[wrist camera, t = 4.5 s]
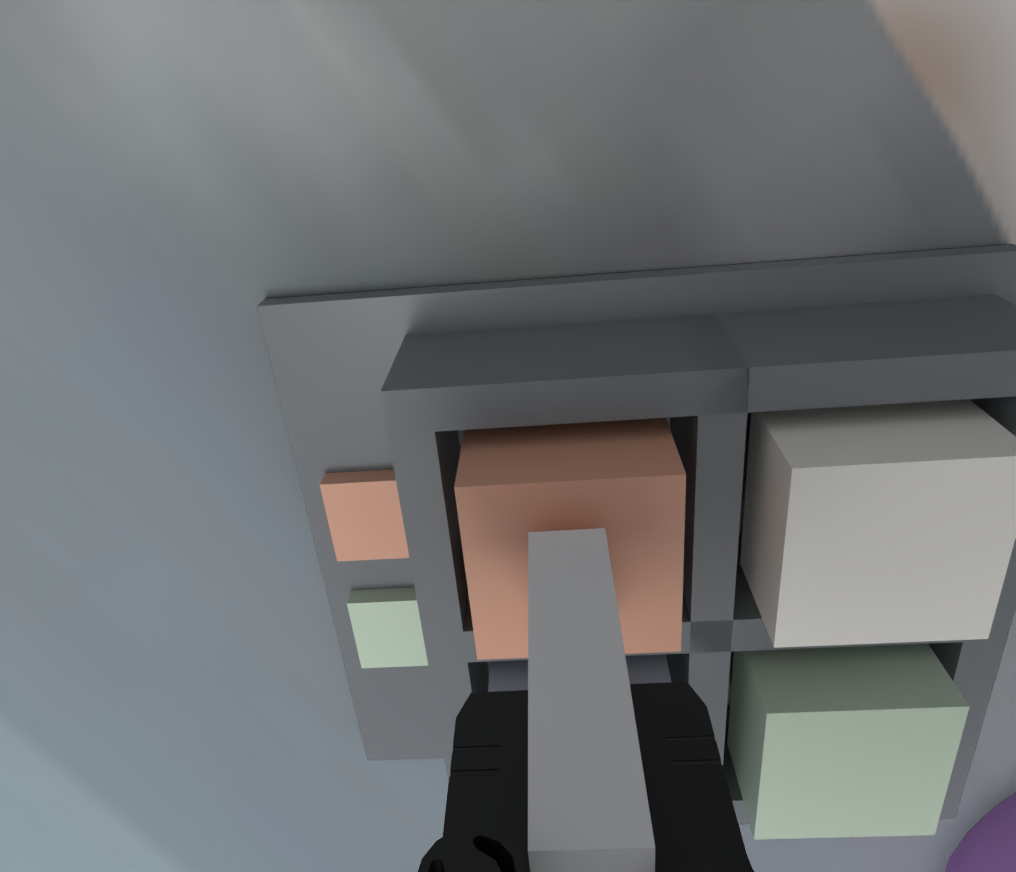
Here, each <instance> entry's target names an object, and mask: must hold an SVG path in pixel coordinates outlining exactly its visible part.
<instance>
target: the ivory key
mask: <svg viewBox="0 0 1016 872" xmlns="http://www.w3.org/2000/svg"><path fill="white" fill-rule="evenodd" d="M1015 538H1016V437H1015V436H1014V435H1013V434H1012V433H1010V432H1009V431H1008V430H1007V429H1006V428H1004V427H1003V426H1002V425H1001V424H999V423H998V422H997V421H996V420H994V419H993V418H992V417H991V416H989V415H988V414H987V413H986V412H984V411H983V410H982V409H981V408H979V407H978V406H977V405H976V404H975V403H973V402H972V401H971V400H970V399H964V400H948V401H931V402H915V403H898V404H882V405H865V406H849V407H832V408H816V409H799V410H783V411H766V412H751V420H750V433H749V447H748V461H747V475H746V489H745V503H744V517H743V531H742V545H741V559H740V565H741V567H742V570H743V572H744V575H745V577H746V580H747V582H748V585H749V587H750V590H751V592H752V595H753V597H754V600H755V602H756V604H757V607H758V609H759V612H760V614H761V617H762V619H763V622H764V624H765V627H766V629H767V632H768V634H769V637H770V639H771V642H772V644H773V647H774V648H779V647H803V646H828V645H852V644H877V643H901V642H925V641H950V640H974V639H988V637H989V634H990V630H991V626H992V623H993V619H994V615H995V612H996V608H997V604H998V601H999V597H1000V593H1001V590H1002V586H1003V582H1004V579H1005V575H1006V571H1007V568H1008V564H1009V560H1010V557H1011V553H1012V549H1013V546H1014V542H1015Z"/></svg>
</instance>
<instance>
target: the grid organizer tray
mask: <svg viewBox="0 0 1016 872" xmlns="http://www.w3.org/2000/svg"><path fill="white" fill-rule="evenodd" d="M1015 302H1016V245H1013V244H1008V245H994V246H980V247H967V248H953V249H940V250H926V251H912V252H899V253H885V254H871V255H858V256H844V257H830V258H817V259H803V260H789V261H776V262H762V263H748V264H735V265H721V266H707V267H694V268H680V269H666V270H653V271H639V272H625V273H612V274H598V275H584V276H571V277H557V278H543V279H530V280H516V281H502V282H489V283H475V284H461V285H448V286H434V287H420V288H407V289H393V290H380V291H366V292H352V293H339V294H325V295H311V296H298V297H284V298H270V299H264V300H263V301H262V302H261V303H260V304H259V305H258V306H257V308H258V312H259V316H260V320H261V324H262V328H263V332H264V336H265V341H266V345H267V349H268V353H269V357H270V361H271V365H272V369H273V374H274V378H275V382H276V386H277V390H278V394H279V398H280V402H281V406H282V411H283V415H284V419H285V423H286V427H287V431H288V435H289V439H290V444H291V448H292V452H293V456H294V460H295V464H296V468H297V472H298V477H299V481H300V485H301V489H302V493H303V497H304V501H305V505H306V510H307V514H308V518H309V522H310V526H311V530H312V534H313V538H314V543H315V547H316V551H317V555H318V559H319V563H320V567H321V571H322V576H323V580H324V584H325V588H326V592H327V596H328V600H329V604H330V608H331V613H332V617H333V621H334V625H335V629H336V633H337V637H338V641H339V646H340V650H341V654H342V658H343V662H344V666H345V670H346V674H347V679H348V683H349V687H350V691H351V695H352V699H353V703H354V707H355V712H356V716H357V720H358V724H359V728H360V732H361V736H362V740H363V745H364V749H365V753H366V757H367V761H369V760H400V759H431V758H445V764H446V770H447V776H448V781H449V776H450V767H451V758H452V752H453V739H454V730H455V721H456V717H457V715H458V713H459V712H460V710H461V708H462V707H463V705H464V703H465V702H466V700H467V698H468V697H469V695H470V693H471V692H488V687H489V672H490V661H513V660H528V658H510V659H486V660H477V654H476V646H475V639H474V631H473V624H472V616H471V609H470V602H469V594H468V587H467V579H466V572H465V564H464V557H463V549H462V542H461V535H460V527H459V520H458V512H457V505H456V497H455V490H454V486H455V480H456V474H457V469H458V463H459V458H460V452H461V447H462V441H463V435H464V430H470V429H487V428H503V427H520V426H536V425H552V424H569V423H585V422H602V421H618V420H635V419H651V418H666V420H667V422H668V425H669V428H670V431H671V433H672V436H673V439H674V442H675V445H676V447H677V450H678V453H679V456H680V459H681V461H682V464H683V467H684V470H685V473H686V499H685V533H684V567H683V601H682V635H681V652H657V653H632V654H625V656H636V655H660V654H665V655H666V659H667V664H668V668H669V673H670V677H671V682H688V683H689V685H690V686H691V687H692V688H693V690H694V691H695V692H696V693H697V695H698V696H699V697H700V698H701V700H702V701H703V702H704V703H705V705H706V706H707V709H708V712H709V716H710V720H711V724H712V727H713V731H714V735H715V741H716V742H717V746H718V750H719V754H720V757H721V764H722V765H723V768H724V772H725V776H726V780H727V783H728V787H729V791H730V795H731V798H732V802H733V806H734V809H735V813H736V817H737V821H738V824H750V823H749V820H748V816H747V812H746V809H745V805H744V802H743V798H742V795H741V791H740V787H739V784H738V780H737V777H736V773H735V769H734V766H733V762H732V759H731V755H730V752H729V748H728V744H727V741H728V727H729V713H730V699H731V685H732V671H733V657H734V651H759V650H783V649H808V648H832V647H857V646H881V645H906V644H929V646H930V647H931V649H932V650H933V652H934V653H935V655H936V656H937V658H938V659H939V661H940V662H941V664H942V665H943V667H944V668H945V670H946V672H947V673H948V675H949V676H950V678H951V679H952V681H953V682H954V684H955V685H956V687H957V688H958V690H959V691H960V693H961V694H962V696H963V697H964V699H965V700H966V702H967V703H968V705H969V706H970V707H969V711H968V715H967V718H966V722H965V726H964V729H963V733H962V737H961V740H960V744H959V748H958V751H957V755H956V759H955V762H954V766H953V770H952V773H951V777H950V781H949V784H948V788H947V792H946V795H945V799H944V803H943V806H942V810H941V814H940V817H939V819H947V818H956V814H957V811H958V807H959V804H960V800H961V797H962V793H963V790H964V786H965V783H966V779H967V776H968V772H969V769H970V765H971V762H972V758H973V755H974V751H975V748H976V744H977V741H978V738H979V734H980V731H981V727H982V724H983V720H984V717H985V713H986V710H987V706H988V703H989V699H990V696H991V692H992V689H993V685H994V682H995V678H996V675H997V671H998V668H999V664H1000V661H1001V657H1002V654H1003V650H1004V647H1005V643H1006V640H1007V636H1008V633H1009V630H1010V626H1011V623H1012V619H1013V616H1014V612H1015V609H1016V538H1015V542H1014V546H1013V549H1012V553H1011V557H1010V560H1009V564H1008V568H1007V571H1006V575H1005V579H1004V582H1003V586H1002V590H1001V593H1000V597H999V601H998V604H997V608H996V612H995V615H994V619H993V623H992V626H991V630H990V634H989V637H988V639H974V640H950V641H925V642H901V643H877V644H852V645H828V646H803V647H779V648H774V647H773V644H772V642H771V639H770V637H769V634H768V632H767V629H766V627H765V624H764V622H763V619H762V617H761V614H760V612H759V609H758V607H757V604H756V602H755V600H754V597H753V595H752V592H751V590H750V587H749V585H748V582H747V580H746V577H745V575H744V572H743V570H742V567H741V565H740V559H741V545H742V531H743V517H744V503H745V489H746V475H747V461H748V447H749V433H750V420H751V412H766V411H783V410H799V409H816V408H832V407H849V406H865V405H882V404H898V403H915V402H931V401H948V400H964V399H970V400H971V401H972V402H973V403H975V404H976V405H977V406H978V407H979V408H981V409H982V410H983V411H984V412H986V413H987V414H988V415H989V416H991V417H992V418H993V419H994V420H996V421H997V422H998V423H999V424H1001V425H1002V426H1003V427H1004V428H1006V429H1007V430H1008V431H1009V432H1010V433H1012V434H1013V435H1014V436H1015V437H1016V305H1015Z"/></svg>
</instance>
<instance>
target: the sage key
mask: <svg viewBox="0 0 1016 872" xmlns="http://www.w3.org/2000/svg"><path fill="white" fill-rule="evenodd" d="M969 707H970V706H969V705H968V703H967V702H966V700H965V699H964V697H963V696H962V694H961V693H960V691H959V690H958V688H957V687H956V685H955V684H954V682H953V681H952V679H951V678H950V676H949V675H948V673H947V672H946V670H945V668H944V667H943V665H942V664H941V662H940V661H939V659H938V658H937V656H936V655H935V653H934V652H933V650H932V649H931V647H930V646H929V644H906V645H881V646H857V647H832V648H808V649H783V650H759V651H734V657H733V671H732V685H731V699H730V713H729V727H728V741H727V744H728V748H729V752H730V755H731V759H732V762H733V766H734V769H735V773H736V777H737V780H738V784H739V787H740V791H741V795H742V798H743V802H744V805H745V809H746V812H747V816H748V820H749V823H750V827H751V830H752V834H753V838H754V839H794V838H834V837H874V836H914V835H935V832H936V828H937V825H938V821H939V817H940V814H941V810H942V806H943V803H944V799H945V795H946V792H947V788H948V784H949V781H950V777H951V773H952V770H953V766H954V762H955V759H956V755H957V751H958V748H959V744H960V740H961V737H962V733H963V729H964V726H965V722H966V718H967V715H968V711H969Z"/></svg>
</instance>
